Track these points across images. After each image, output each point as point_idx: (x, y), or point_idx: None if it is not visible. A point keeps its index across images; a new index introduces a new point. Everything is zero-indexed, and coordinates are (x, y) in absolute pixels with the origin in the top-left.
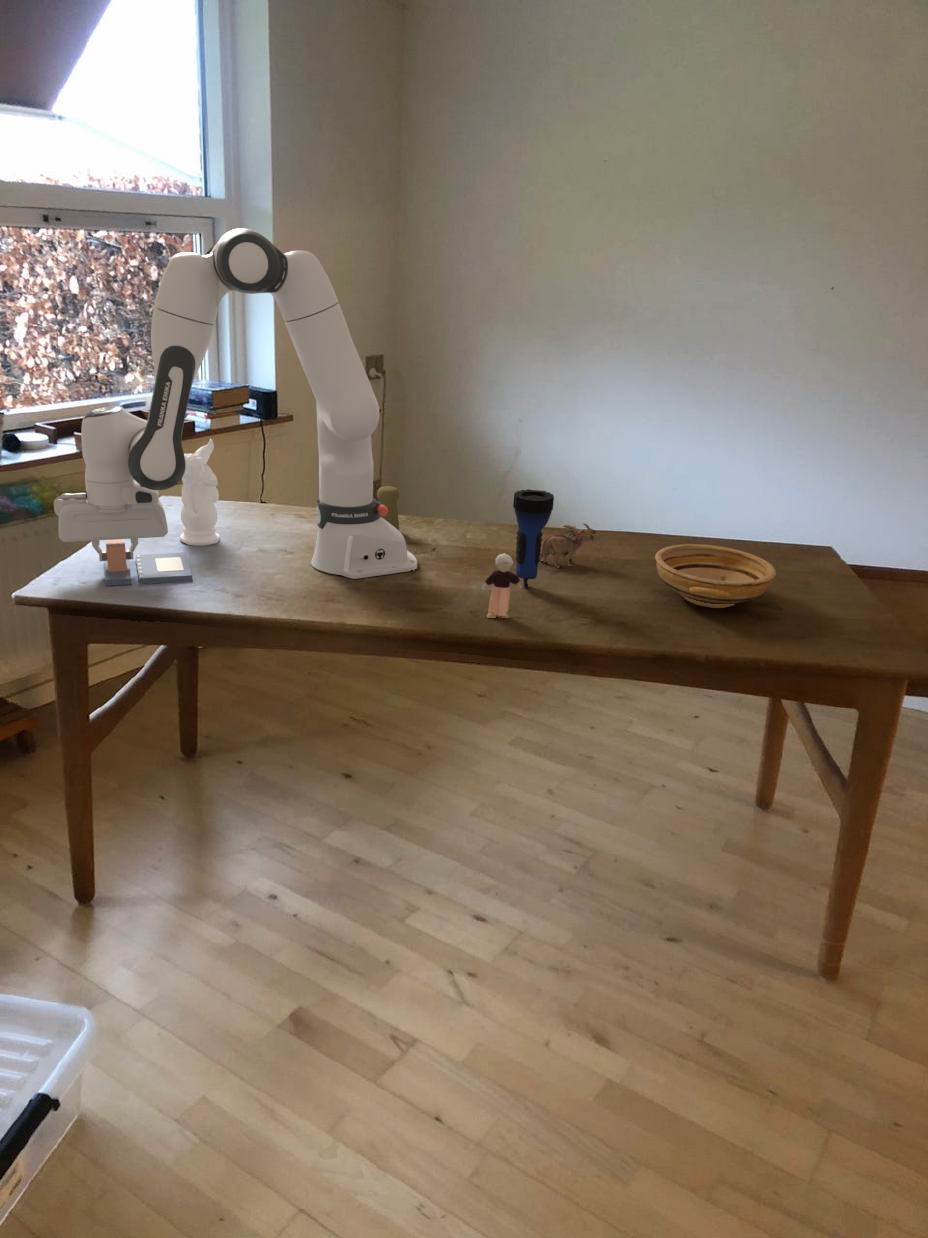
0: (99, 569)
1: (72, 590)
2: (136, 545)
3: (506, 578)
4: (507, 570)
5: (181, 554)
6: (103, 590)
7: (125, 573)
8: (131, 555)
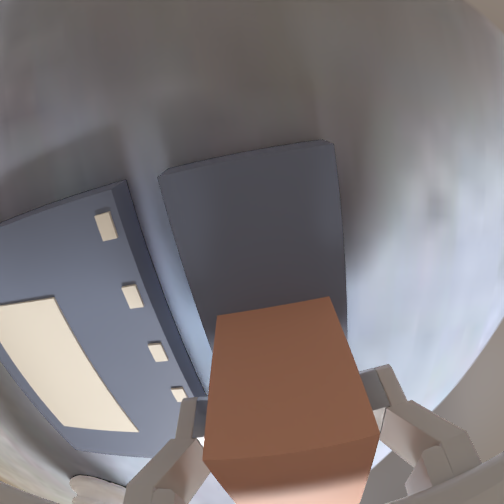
0: None
1: (476, 105)
2: (141, 472)
3: None
4: None
5: (76, 441)
6: (329, 73)
7: (217, 274)
8: (190, 415)
